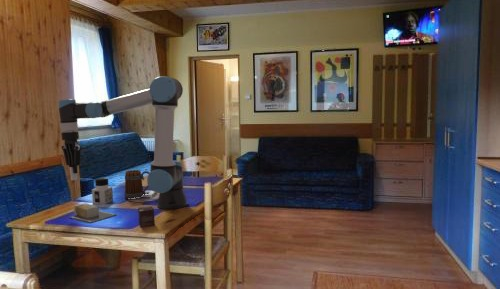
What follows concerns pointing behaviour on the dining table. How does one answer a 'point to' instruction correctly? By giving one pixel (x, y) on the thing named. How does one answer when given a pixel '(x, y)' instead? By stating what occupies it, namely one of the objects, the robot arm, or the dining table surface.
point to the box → (146, 216)
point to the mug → (134, 184)
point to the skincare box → (86, 210)
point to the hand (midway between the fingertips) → (74, 179)
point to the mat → (93, 219)
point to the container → (102, 192)
